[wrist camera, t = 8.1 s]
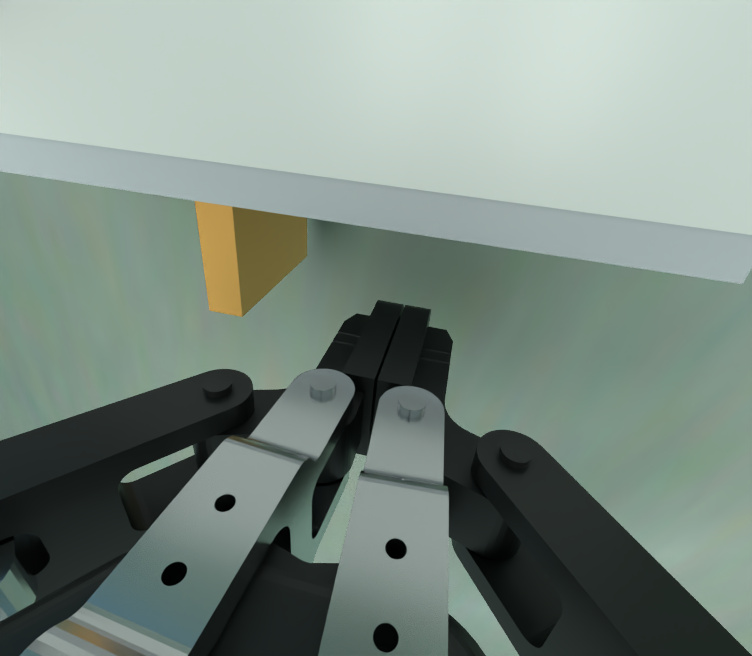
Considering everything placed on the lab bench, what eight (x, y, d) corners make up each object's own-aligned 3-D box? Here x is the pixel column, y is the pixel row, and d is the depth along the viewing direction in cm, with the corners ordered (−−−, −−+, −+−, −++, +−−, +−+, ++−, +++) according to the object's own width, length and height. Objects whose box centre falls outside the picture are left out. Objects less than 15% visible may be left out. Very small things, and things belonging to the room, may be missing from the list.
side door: (103, 109, 19) (-77, 121, 13) (320, 136, 17) (232, 162, 11) (128, 221, 21) (-12, 275, 15) (319, 253, 20) (246, 326, 14)
